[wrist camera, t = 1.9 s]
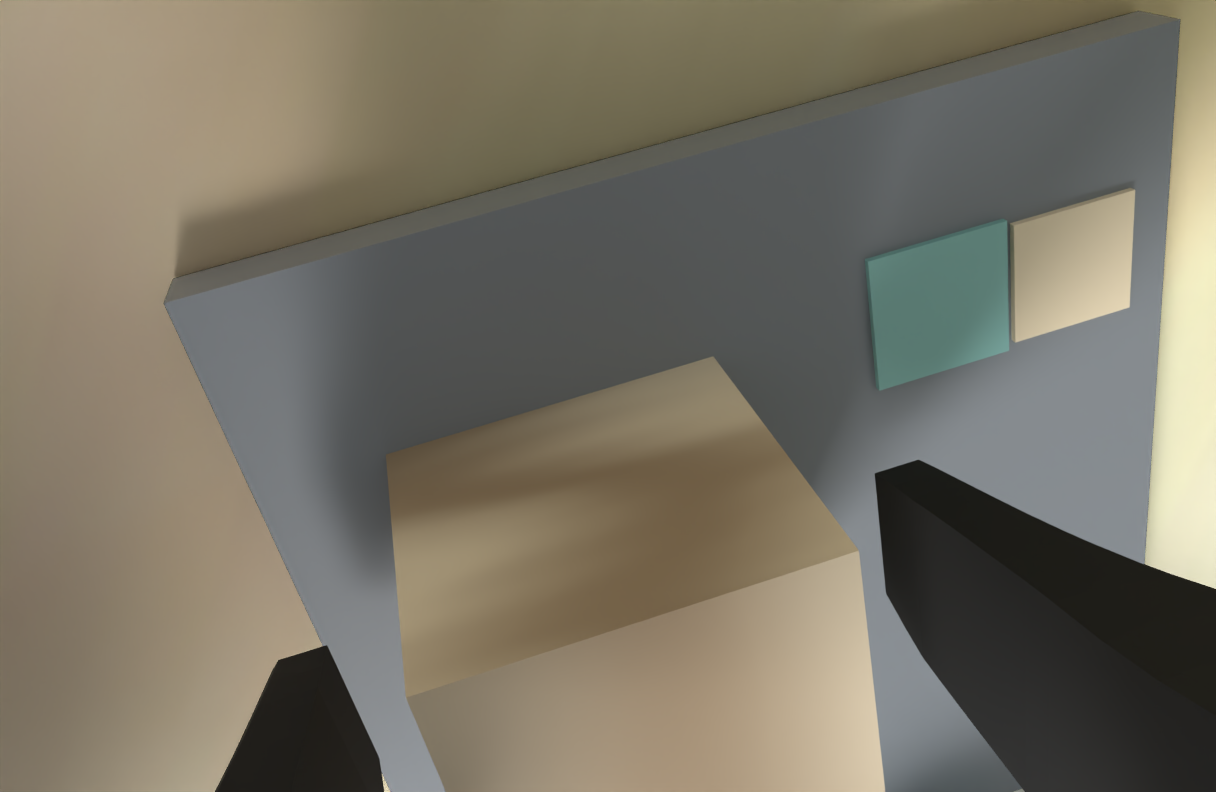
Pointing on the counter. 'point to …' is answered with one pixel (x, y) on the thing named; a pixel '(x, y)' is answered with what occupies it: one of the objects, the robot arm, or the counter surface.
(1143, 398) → the board
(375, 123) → the counter surface
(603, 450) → the maple block
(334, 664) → the robot arm
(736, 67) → the counter surface
